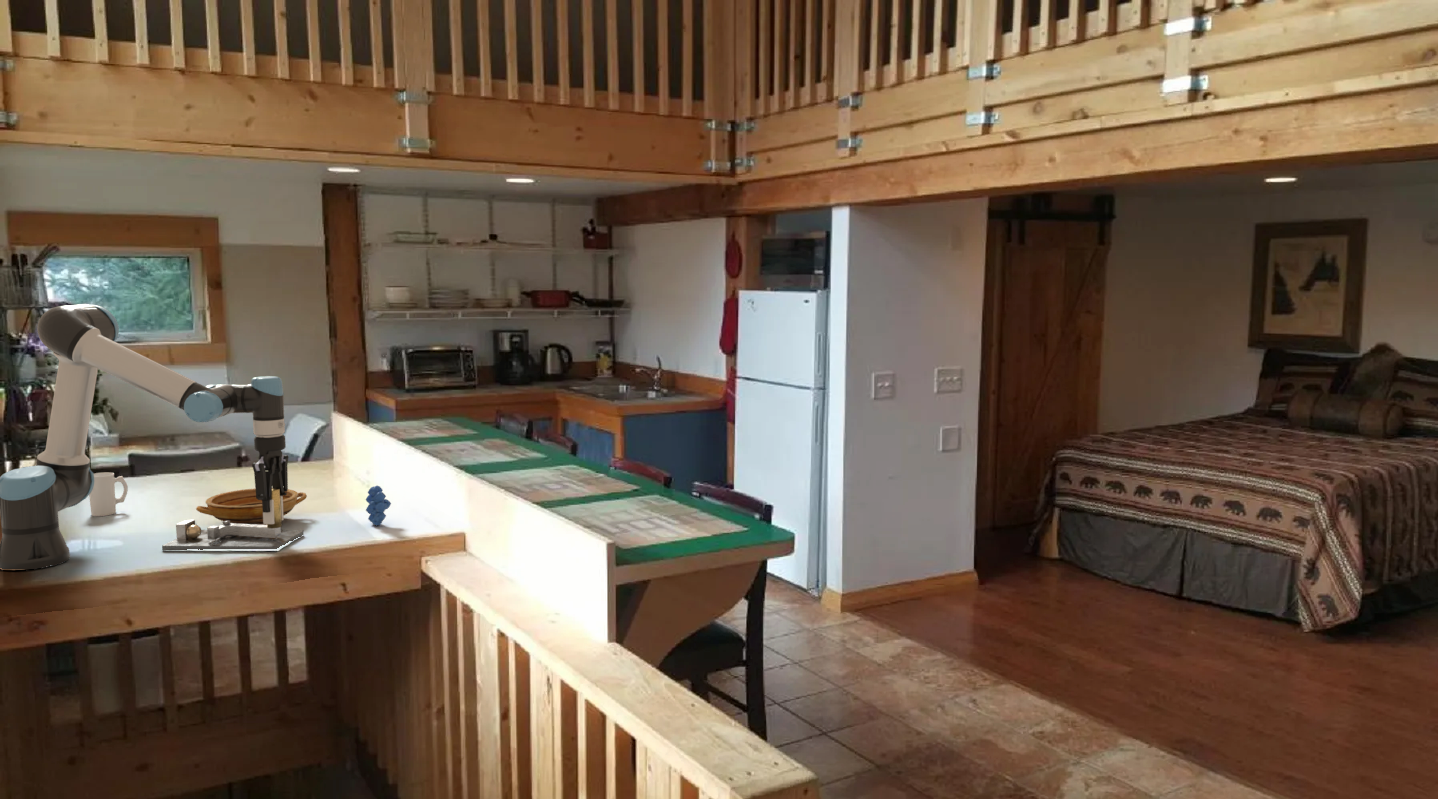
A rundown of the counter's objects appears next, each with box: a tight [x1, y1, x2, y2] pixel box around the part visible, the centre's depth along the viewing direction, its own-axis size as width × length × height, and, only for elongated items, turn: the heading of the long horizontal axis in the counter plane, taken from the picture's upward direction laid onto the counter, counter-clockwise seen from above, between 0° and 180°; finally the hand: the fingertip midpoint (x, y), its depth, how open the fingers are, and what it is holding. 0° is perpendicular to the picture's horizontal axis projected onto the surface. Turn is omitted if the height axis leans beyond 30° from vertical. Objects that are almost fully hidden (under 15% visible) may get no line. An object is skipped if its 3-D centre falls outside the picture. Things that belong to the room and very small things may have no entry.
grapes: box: [365, 485, 392, 526], centre depth 283 cm, size 12×7×12 cm, turn 38°
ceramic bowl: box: [195, 488, 308, 525], centre depth 285 cm, size 30×24×8 cm
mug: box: [88, 472, 129, 517], centre depth 296 cm, size 10×7×12 cm, turn 129°
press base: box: [161, 519, 305, 551], centre depth 264 cm, size 16×30×6 cm, turn 89°
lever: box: [206, 489, 282, 540], centre depth 262 cm, size 8×17×12 cm, turn 80°
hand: (273, 521), depth 264 cm, fingers closed on lever, 4 cm apart
